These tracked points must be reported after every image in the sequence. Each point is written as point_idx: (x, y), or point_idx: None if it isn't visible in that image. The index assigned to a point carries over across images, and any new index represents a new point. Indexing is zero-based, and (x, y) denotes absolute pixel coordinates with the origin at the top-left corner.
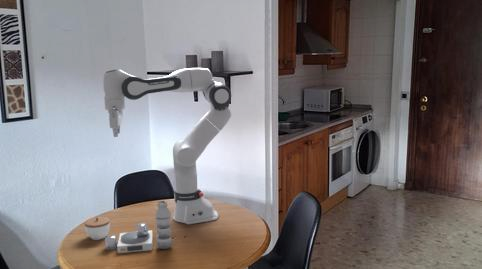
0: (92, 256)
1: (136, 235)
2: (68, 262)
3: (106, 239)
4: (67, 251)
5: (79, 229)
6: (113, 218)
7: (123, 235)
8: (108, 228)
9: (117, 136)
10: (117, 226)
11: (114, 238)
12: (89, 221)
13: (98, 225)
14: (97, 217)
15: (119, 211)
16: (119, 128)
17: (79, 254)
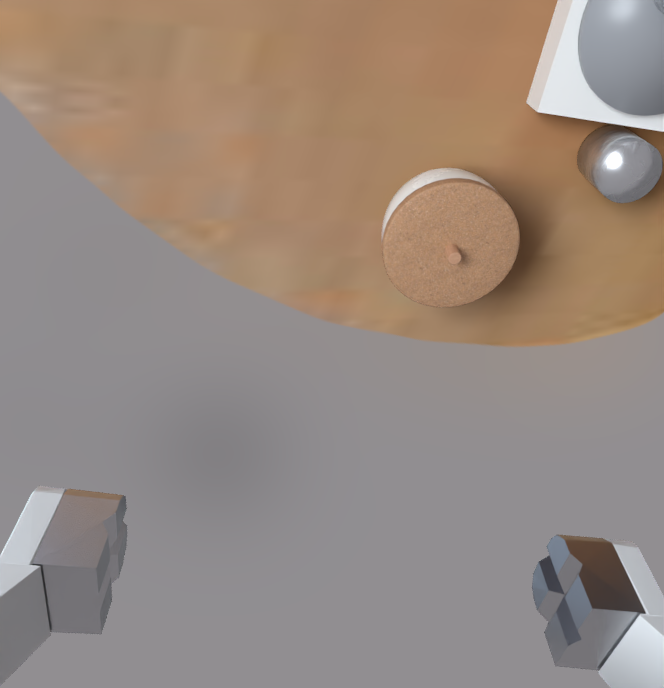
0: (645, 238)
1: (661, 19)
2: (641, 321)
3: (642, 194)
4: (530, 330)
5: (291, 294)
6: (173, 123)
7: (613, 98)
8: (481, 178)
9: (632, 542)
10: (320, 107)
11: (660, 155)
12: (444, 287)
13: (519, 242)
14: (456, 255)
15: (44, 76)
16: (13, 594)
17: (590, 287)
